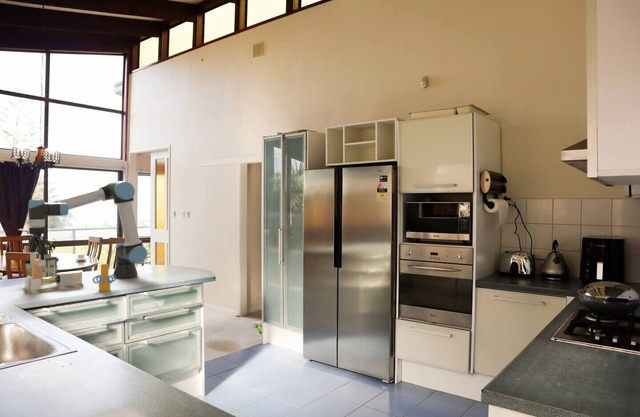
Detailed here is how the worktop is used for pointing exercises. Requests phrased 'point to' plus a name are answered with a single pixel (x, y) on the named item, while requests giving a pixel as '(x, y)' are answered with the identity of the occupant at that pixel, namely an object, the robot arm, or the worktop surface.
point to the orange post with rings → (104, 278)
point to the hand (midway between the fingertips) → (37, 264)
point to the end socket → (32, 283)
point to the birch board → (52, 288)
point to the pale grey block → (69, 278)
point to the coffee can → (49, 267)
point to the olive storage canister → (29, 268)
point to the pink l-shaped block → (38, 273)
